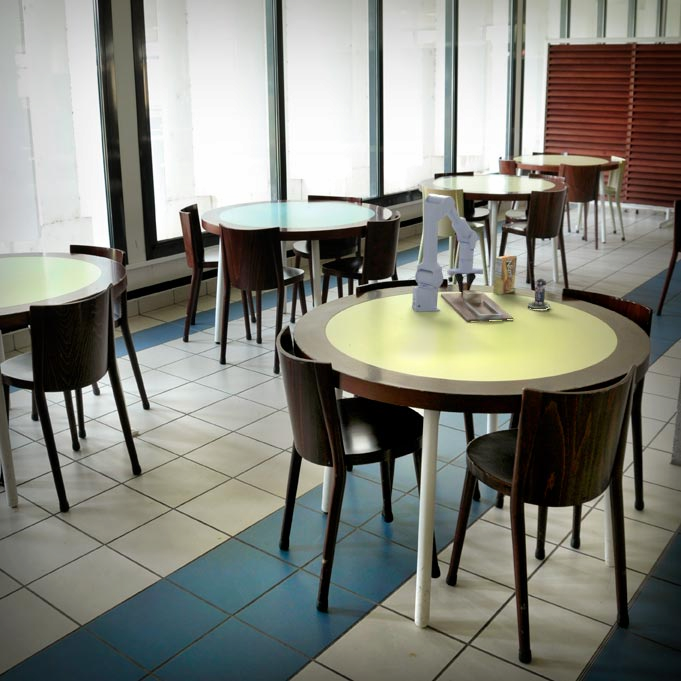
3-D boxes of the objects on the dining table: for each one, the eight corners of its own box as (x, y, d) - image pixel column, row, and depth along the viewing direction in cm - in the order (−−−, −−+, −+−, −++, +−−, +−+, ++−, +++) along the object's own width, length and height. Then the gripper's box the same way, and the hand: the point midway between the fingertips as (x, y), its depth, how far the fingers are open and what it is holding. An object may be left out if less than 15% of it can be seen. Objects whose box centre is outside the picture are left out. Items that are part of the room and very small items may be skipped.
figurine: (526, 304, 337) (529, 275, 333) (548, 305, 336) (551, 276, 332) (528, 310, 329) (531, 280, 325) (551, 311, 328) (553, 281, 324)
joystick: (466, 303, 333) (467, 291, 331) (456, 294, 346) (456, 282, 344) (481, 303, 333) (481, 290, 332) (470, 293, 347) (471, 281, 345)
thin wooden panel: (467, 322, 313) (467, 315, 312) (440, 296, 347) (441, 290, 346) (513, 320, 316) (513, 314, 315) (482, 294, 349) (483, 289, 349)
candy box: (506, 289, 358) (509, 254, 353) (514, 291, 355) (517, 256, 350) (492, 292, 353) (495, 257, 348) (500, 295, 350) (503, 258, 345)
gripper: (480, 256, 345) (478, 288, 350) (446, 257, 343) (444, 289, 348) (485, 260, 339) (483, 292, 343) (450, 261, 337) (449, 293, 341)
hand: (464, 291), depth 345 cm, fingers closed on joystick, 2 cm apart
